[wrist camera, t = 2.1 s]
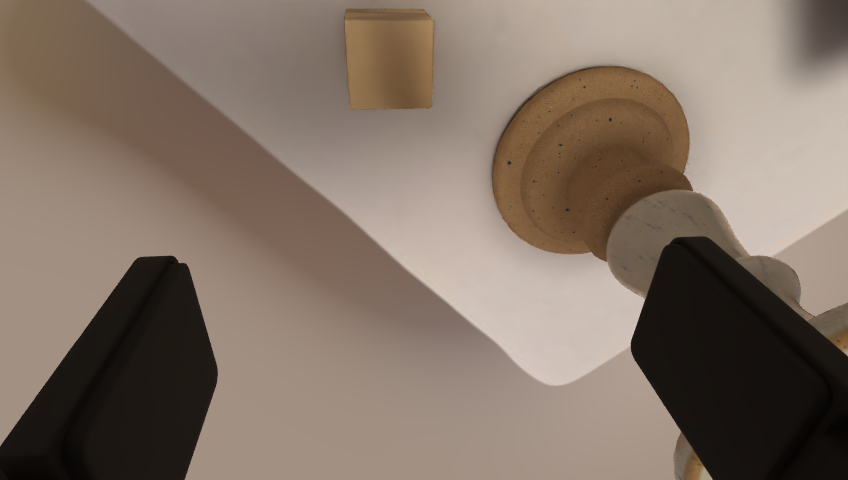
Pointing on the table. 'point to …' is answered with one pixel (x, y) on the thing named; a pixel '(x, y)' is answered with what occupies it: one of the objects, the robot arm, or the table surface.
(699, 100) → the table surface
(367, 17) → the maple block
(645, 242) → the candle holder
